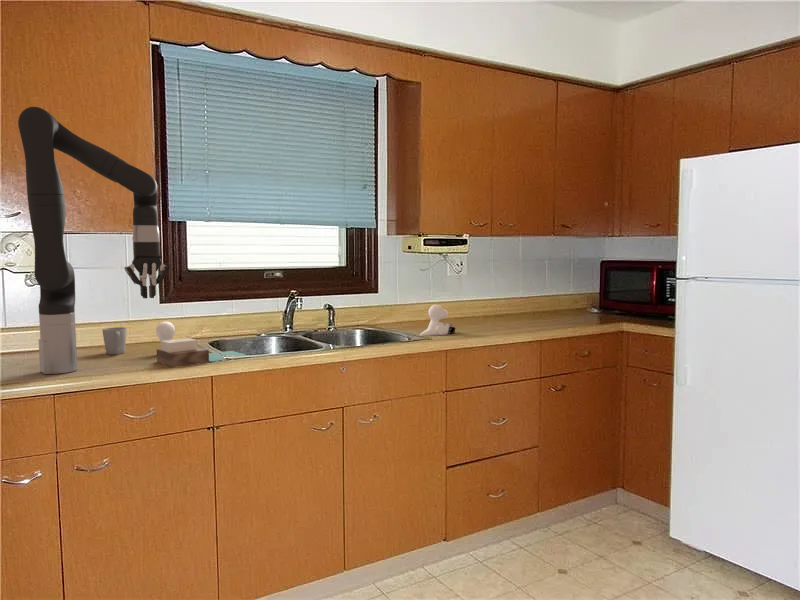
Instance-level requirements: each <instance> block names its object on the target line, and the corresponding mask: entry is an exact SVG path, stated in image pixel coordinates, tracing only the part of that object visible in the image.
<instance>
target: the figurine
mask: <svg viewBox="0 0 800 600" xmlns="http://www.w3.org/2000/svg"><path fill="white" fill-rule="evenodd" d="M427 314H428V315H429V318H430V321H429V324H428V326H427V328H426V329H425V330H424V331H422V332H421V333H420V334H419V336H420V337H428V336H429V337H430V336H444V335H445V336H447V335H453V334H456V329H457V328H456V327H455V326H453V323H452V322H447V321H445V322H440V321H441V320H443V319H445V318H447V317H448V315H449V311H448V310H447V309H445V308H443V307H442V305H441V304H435V303H434V304H432V305H431V306H430V307H429V308H428V313H427Z"/></svg>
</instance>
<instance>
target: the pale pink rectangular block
mask: <svg viewBox="0 0 800 600" xmlns="http://www.w3.org/2000/svg"><path fill="white" fill-rule="evenodd" d="M160 346H161V349H162V351H165V352H168V353H171V352H180V351H189V350H197V347H198V340H197V339H194V338H190V337H187V338H186V337H185V338H177V339H172V340H165V341H160Z"/></svg>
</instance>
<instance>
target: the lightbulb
mask: <svg viewBox="0 0 800 600" xmlns="http://www.w3.org/2000/svg"><path fill="white" fill-rule="evenodd" d="M175 333H176V327H175V326H174V324H173V323H172V322H170V321H162V322H160V323H159V324H158V325H157V326H156V327H155V334H156V335H157V337H158V339H159V341H160V342H161V341H165V340H173V337H174V335H175Z"/></svg>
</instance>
